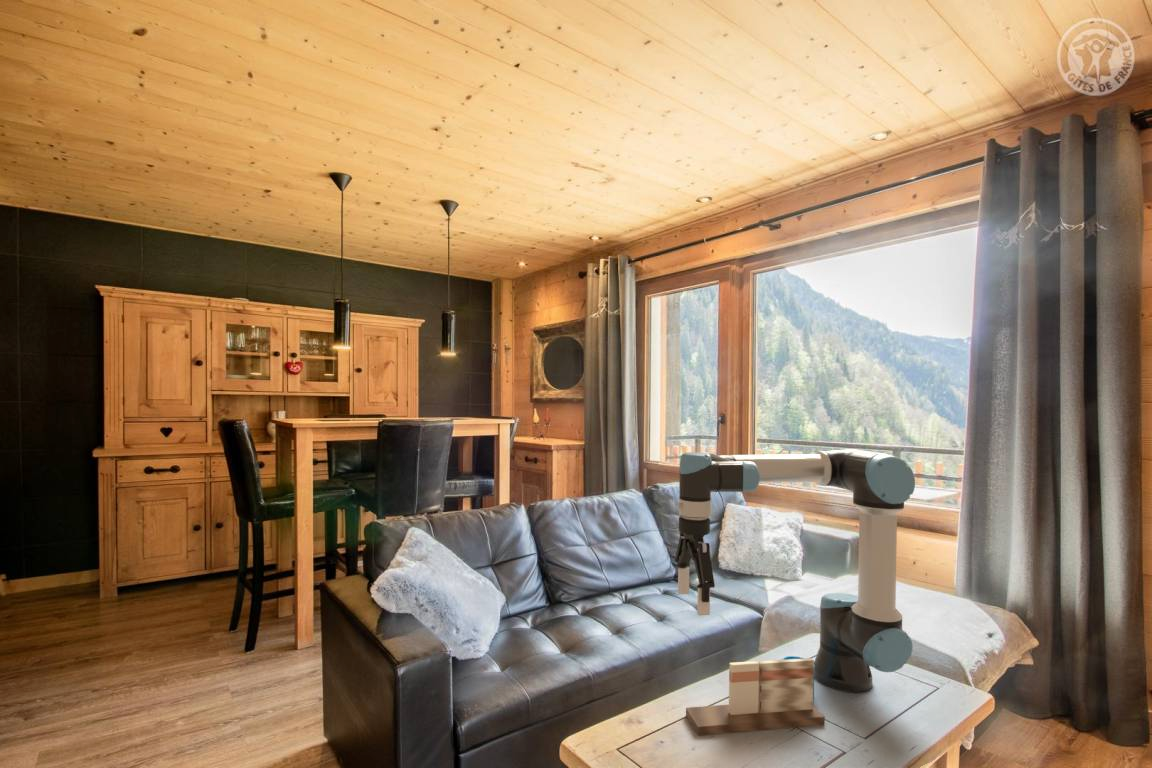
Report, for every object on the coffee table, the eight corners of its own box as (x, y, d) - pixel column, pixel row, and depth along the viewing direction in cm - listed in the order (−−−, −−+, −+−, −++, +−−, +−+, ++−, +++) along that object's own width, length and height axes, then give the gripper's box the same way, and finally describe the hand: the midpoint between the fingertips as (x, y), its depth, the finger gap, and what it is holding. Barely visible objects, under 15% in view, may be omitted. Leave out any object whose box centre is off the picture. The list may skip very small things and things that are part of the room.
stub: (755, 710, 141) (756, 660, 141) (758, 713, 139) (759, 663, 139) (728, 712, 140) (729, 662, 140) (730, 715, 138) (731, 665, 138)
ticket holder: (806, 706, 146) (807, 651, 146) (824, 725, 139) (825, 666, 139) (685, 715, 141) (686, 658, 141) (697, 735, 134) (698, 675, 134)
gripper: (663, 506, 152) (662, 586, 152) (698, 529, 128) (696, 625, 127) (690, 505, 153) (689, 585, 153) (730, 528, 129) (729, 623, 129)
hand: (692, 603), depth 140 cm, fingers open, 13 cm apart
